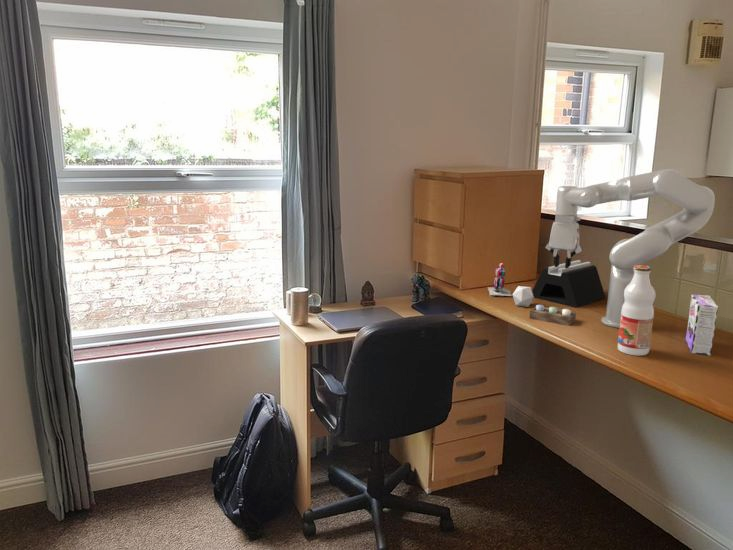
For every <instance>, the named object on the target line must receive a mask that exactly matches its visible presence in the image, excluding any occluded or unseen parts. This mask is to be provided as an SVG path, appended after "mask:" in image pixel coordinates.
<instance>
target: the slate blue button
mask: <svg viewBox="0 0 733 550" xmlns="http://www.w3.org/2000/svg"><path fill="white" fill-rule="evenodd" d="M535 307H536V310H537V311H544V307H545V305H543V304H536V305H535Z"/></svg>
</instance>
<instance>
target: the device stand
mask: <svg viewBox="0 0 733 550" xmlns="http://www.w3.org/2000/svg"><path fill="white" fill-rule="evenodd" d="M531 290H532V293H533V296H534V299H537V300H543V301H547V302H551V303H555V304H559V305H563V306H566V307H570V308H571V307H572V308H576V309H577V308H581V307H583V306H586V305H589V304H593V303H595V302H598V301H601V300H604V299H606V295H605V291H604V288H603V285H602V282H601V277H600V275H599V271H598V268H597V266H596V265H593V264H592V265H591V261H585V262H582V261H581V260H580V259H578V260H573V261H571V265H570V266H569V268H565V262H564V263H559V266H557V267H555V265H552V266H548V267H546V268H543V269H542V270H541V272H540V274H539V276H538V278H537V280H536V282H535V284H534V286H533V287H532V289H531Z"/></svg>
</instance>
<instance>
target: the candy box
mask: <svg viewBox="0 0 733 550" xmlns="http://www.w3.org/2000/svg"><path fill="white" fill-rule="evenodd" d="M688 311H689V312H688V319H687V329H686V334H685V343H686V344H687V346H688V349H689V351H690V353H691V354H695V355H696V354H697V355H703V356H704V355H705V356H711V355H712V348H713V342H714V337H715V331H716V330H715V329H716V325H717V317H718V313H719V312H718V311H719V306H718V305H717V304H716V302H715V301H714V299H713V298H712V297H711V295H708V294H707V295H706V294H695V293H694V294H693V293H692V294H691V297H690V305H689V310H688Z"/></svg>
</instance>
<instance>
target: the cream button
mask: <svg viewBox="0 0 733 550" xmlns="http://www.w3.org/2000/svg"><path fill="white" fill-rule="evenodd" d="M561 310H562V315H567V316H570V315H571V312H572V309H569V308H563V309H561Z"/></svg>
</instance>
